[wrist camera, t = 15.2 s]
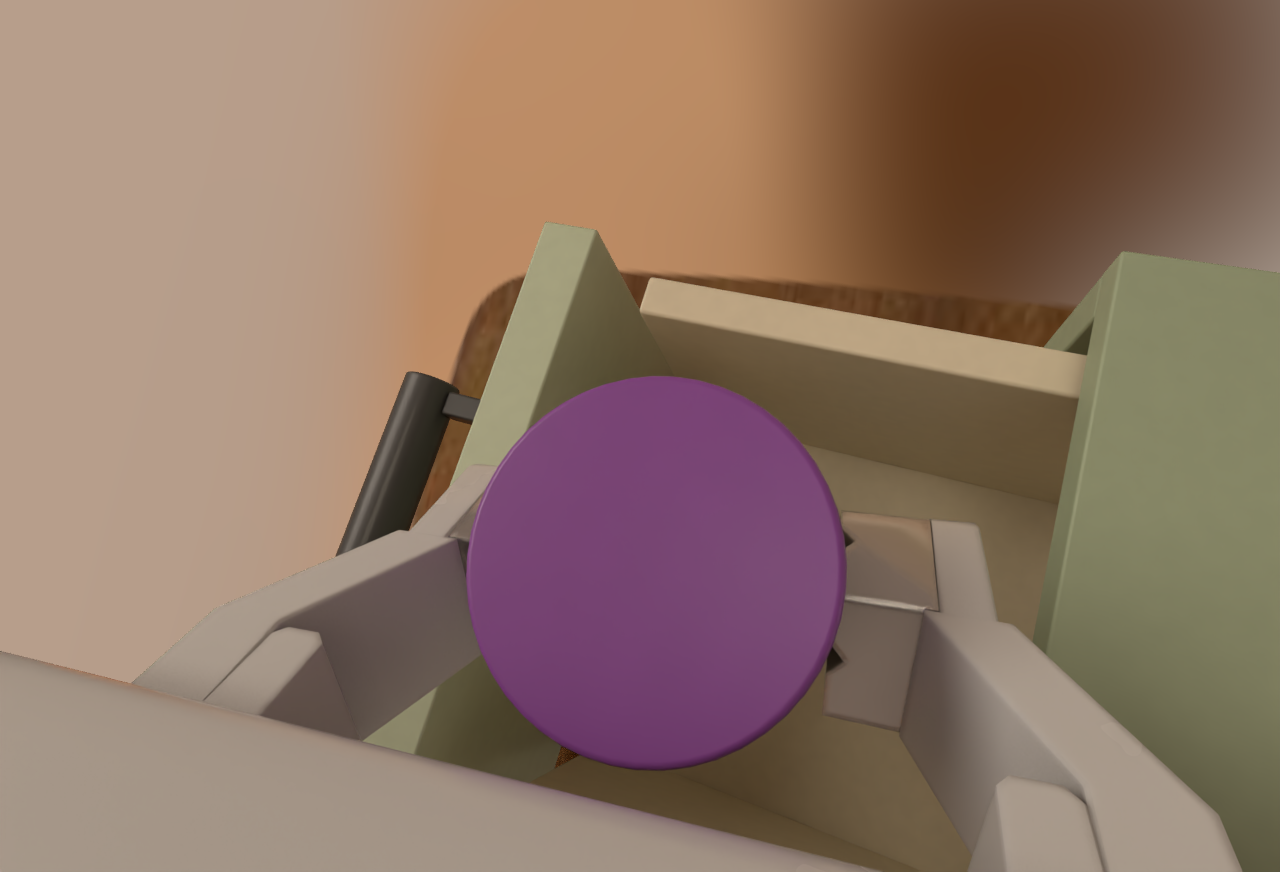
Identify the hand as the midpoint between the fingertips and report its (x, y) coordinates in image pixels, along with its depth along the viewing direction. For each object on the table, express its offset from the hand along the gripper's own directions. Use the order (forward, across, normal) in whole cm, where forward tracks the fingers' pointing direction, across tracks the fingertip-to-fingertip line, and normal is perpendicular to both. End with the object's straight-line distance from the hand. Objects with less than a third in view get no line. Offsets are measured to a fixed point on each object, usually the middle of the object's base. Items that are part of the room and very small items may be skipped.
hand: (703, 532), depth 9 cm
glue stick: (+3, 0, +4) cm, 4 cm away
